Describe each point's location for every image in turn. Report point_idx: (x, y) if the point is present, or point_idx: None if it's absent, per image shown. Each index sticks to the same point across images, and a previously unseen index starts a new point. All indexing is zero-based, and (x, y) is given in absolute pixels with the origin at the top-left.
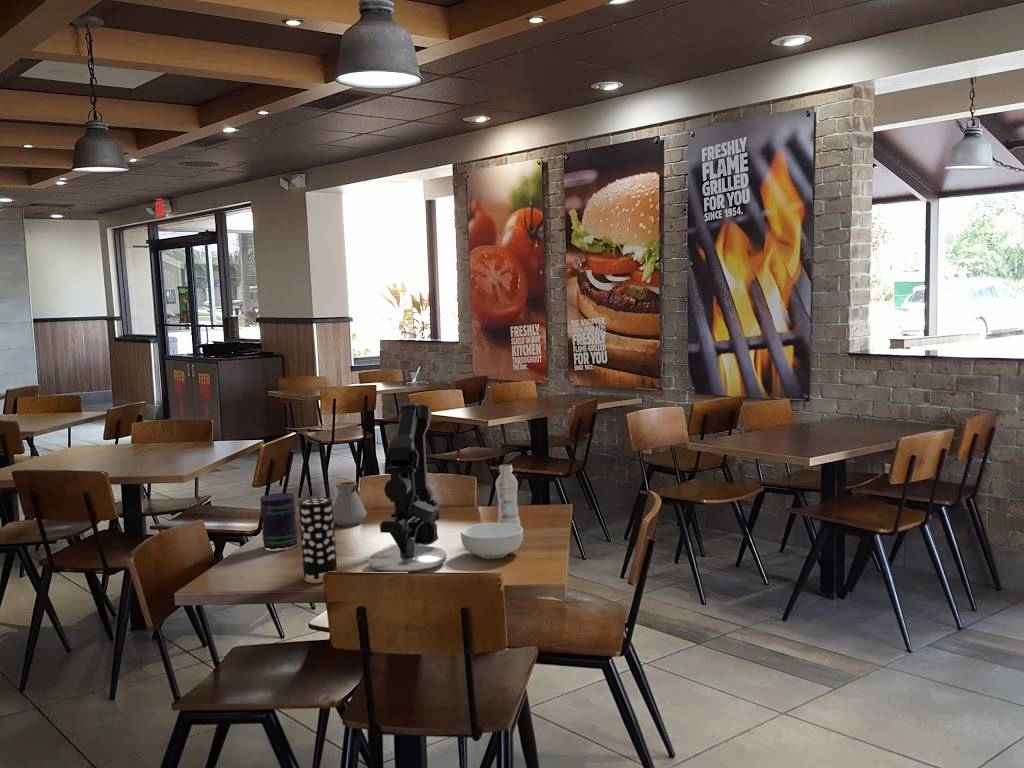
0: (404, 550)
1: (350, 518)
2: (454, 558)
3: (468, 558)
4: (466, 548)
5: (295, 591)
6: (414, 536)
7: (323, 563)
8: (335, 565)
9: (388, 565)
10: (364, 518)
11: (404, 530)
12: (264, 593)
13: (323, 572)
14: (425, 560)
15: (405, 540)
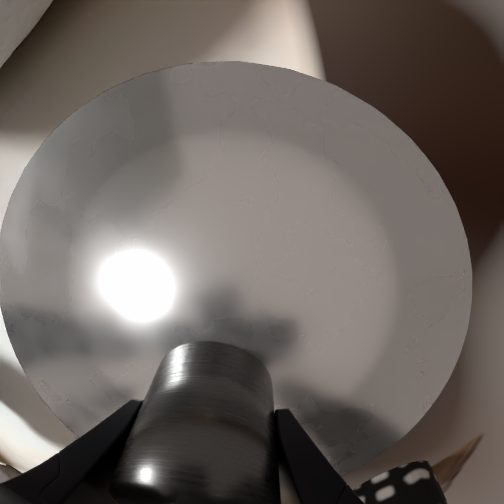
0: (301, 431)
1: None
2: (38, 130)
3: (40, 60)
4: (21, 28)
5: (463, 458)
6: (90, 467)
7: (445, 499)
8: (411, 495)
9: (421, 394)
10: (2, 466)
11: None
12: (451, 479)
13: (437, 481)
14: (320, 196)
15: (361, 500)
